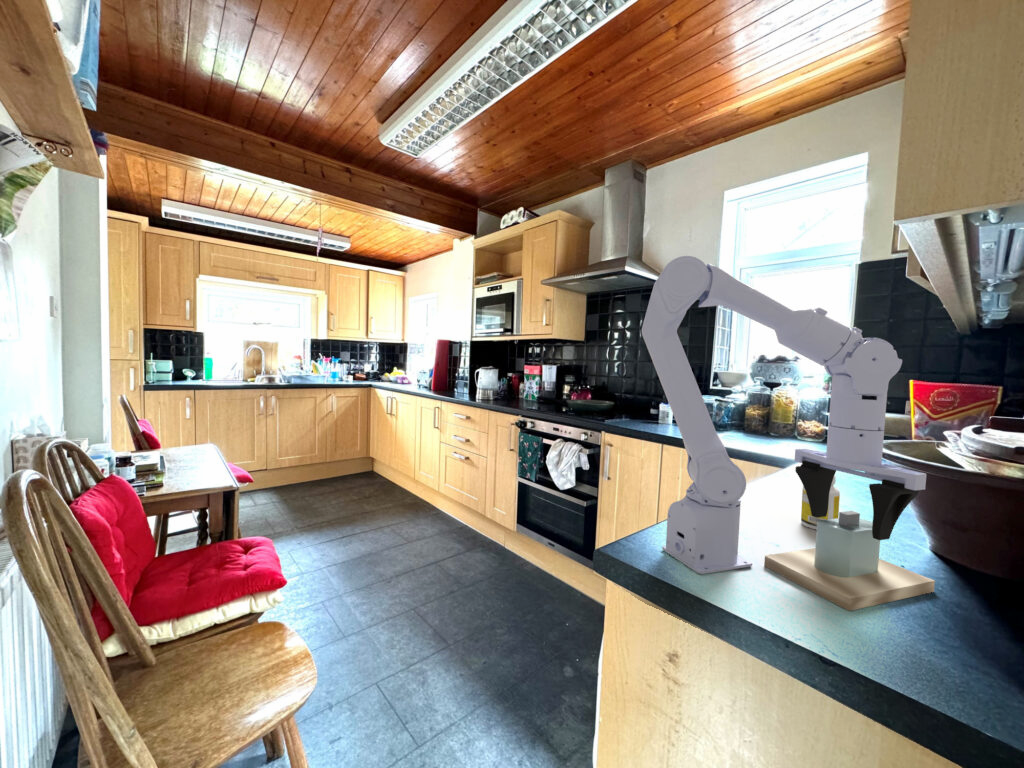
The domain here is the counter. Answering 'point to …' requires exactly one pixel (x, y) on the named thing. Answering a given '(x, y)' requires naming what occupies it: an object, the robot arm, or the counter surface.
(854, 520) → the grey capsule with tab
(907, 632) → the counter surface
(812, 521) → the supplement bottle
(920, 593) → the cutting board
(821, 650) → the counter surface
